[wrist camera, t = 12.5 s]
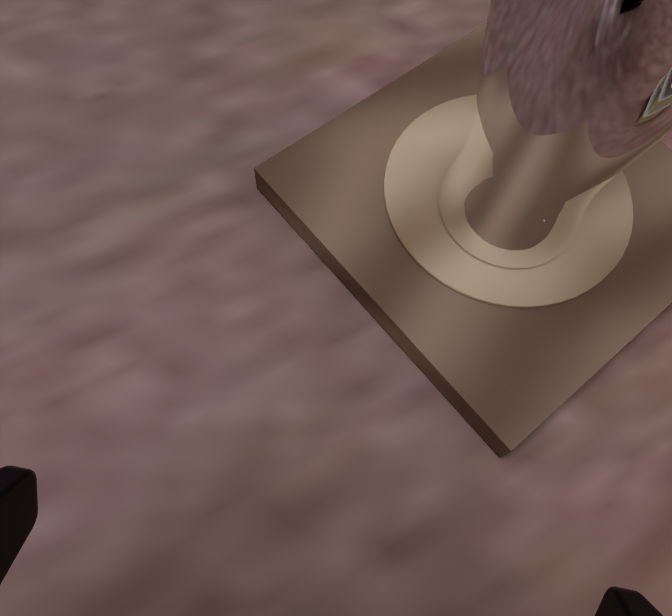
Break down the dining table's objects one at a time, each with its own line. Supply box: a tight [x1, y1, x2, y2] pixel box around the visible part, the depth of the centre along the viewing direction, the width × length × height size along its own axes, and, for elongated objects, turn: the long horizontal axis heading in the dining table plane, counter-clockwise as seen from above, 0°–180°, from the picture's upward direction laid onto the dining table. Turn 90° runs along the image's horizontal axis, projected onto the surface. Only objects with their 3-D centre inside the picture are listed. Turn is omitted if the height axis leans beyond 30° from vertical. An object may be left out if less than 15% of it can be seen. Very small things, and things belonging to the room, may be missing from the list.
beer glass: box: [439, 0, 672, 269], centre depth 19 cm, size 7×7×15 cm
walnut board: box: [254, 23, 672, 458], centre depth 27 cm, size 16×16×2 cm
